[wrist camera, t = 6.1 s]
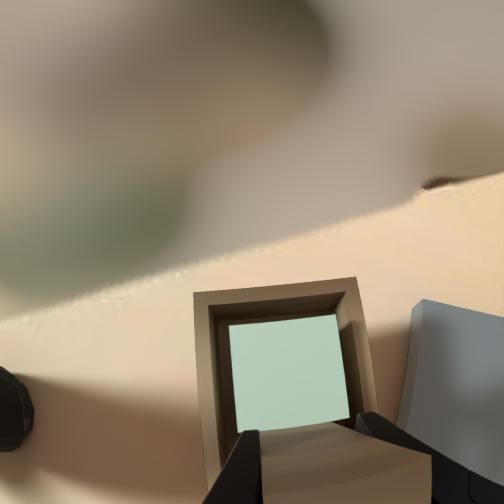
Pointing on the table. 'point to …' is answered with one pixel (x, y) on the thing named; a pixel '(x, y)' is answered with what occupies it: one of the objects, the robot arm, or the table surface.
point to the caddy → (310, 436)
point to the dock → (456, 386)
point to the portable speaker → (13, 411)
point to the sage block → (288, 373)
